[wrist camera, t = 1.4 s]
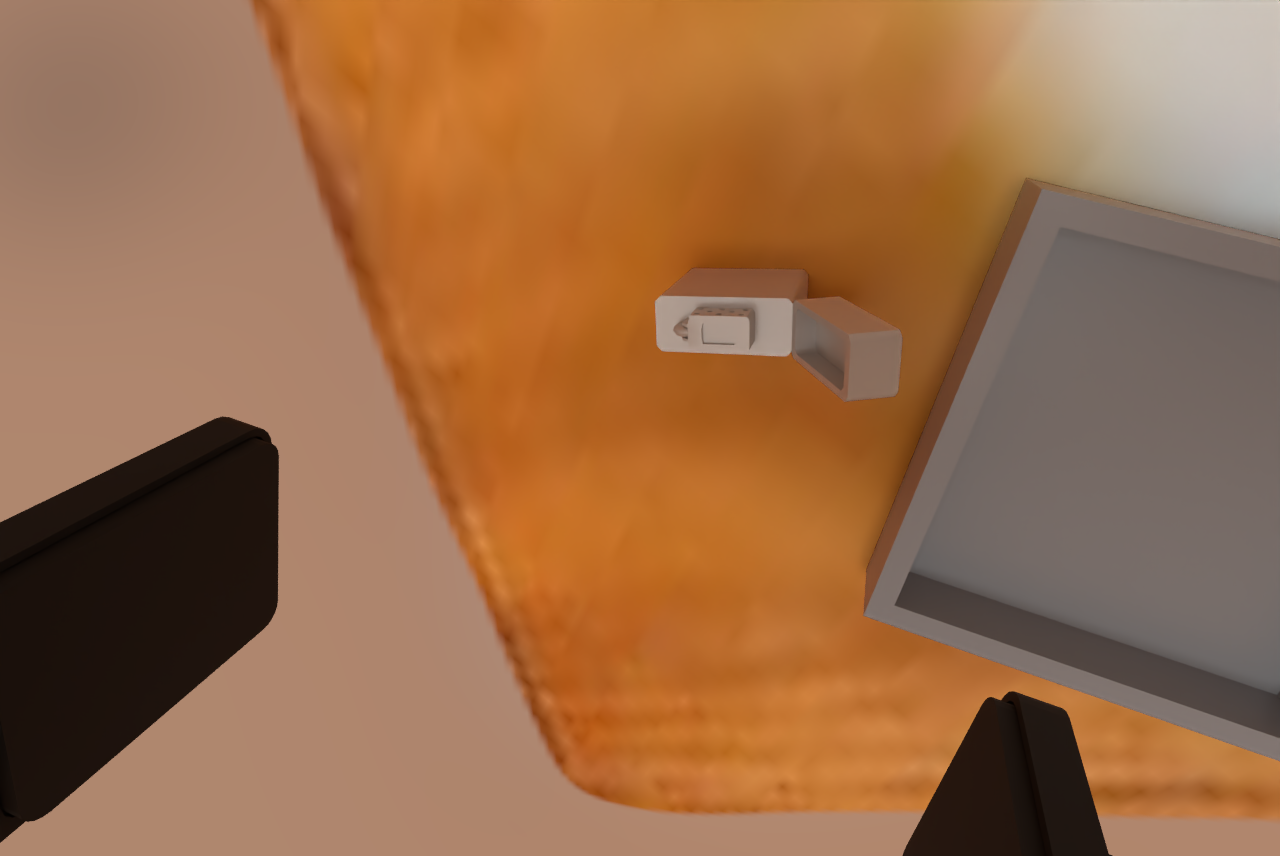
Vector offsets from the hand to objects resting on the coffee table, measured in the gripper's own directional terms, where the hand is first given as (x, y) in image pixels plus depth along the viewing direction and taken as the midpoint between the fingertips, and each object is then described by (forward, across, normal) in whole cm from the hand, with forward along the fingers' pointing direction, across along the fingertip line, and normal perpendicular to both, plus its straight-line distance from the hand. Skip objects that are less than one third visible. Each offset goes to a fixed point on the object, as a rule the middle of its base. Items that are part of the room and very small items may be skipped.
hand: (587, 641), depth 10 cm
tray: (+19, -13, +2) cm, 23 cm away
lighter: (+20, 0, 0) cm, 20 cm away
